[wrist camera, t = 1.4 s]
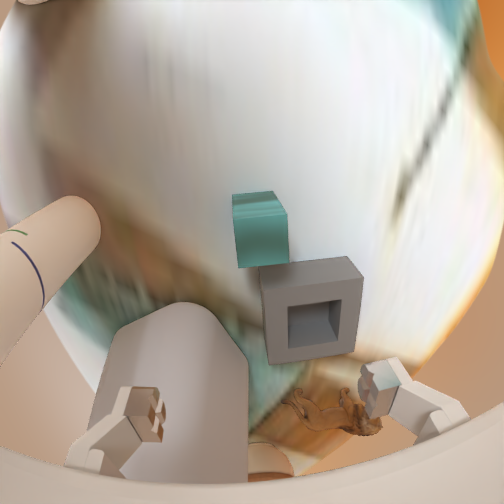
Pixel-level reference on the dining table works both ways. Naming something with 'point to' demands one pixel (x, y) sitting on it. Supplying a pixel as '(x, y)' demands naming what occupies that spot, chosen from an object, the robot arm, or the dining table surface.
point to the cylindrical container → (41, 261)
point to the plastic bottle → (183, 395)
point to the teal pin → (260, 229)
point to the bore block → (310, 308)
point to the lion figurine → (336, 416)
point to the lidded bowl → (267, 463)
